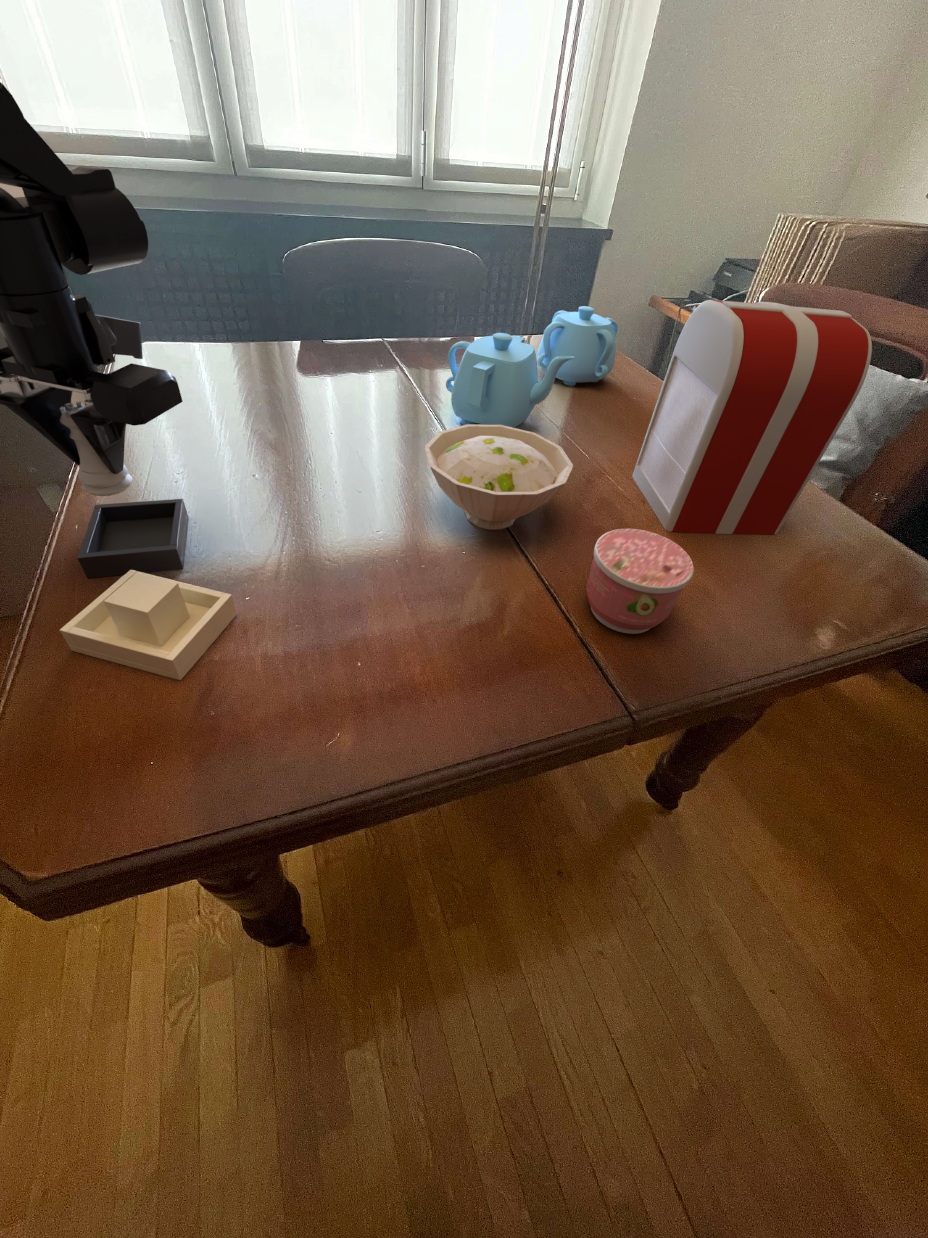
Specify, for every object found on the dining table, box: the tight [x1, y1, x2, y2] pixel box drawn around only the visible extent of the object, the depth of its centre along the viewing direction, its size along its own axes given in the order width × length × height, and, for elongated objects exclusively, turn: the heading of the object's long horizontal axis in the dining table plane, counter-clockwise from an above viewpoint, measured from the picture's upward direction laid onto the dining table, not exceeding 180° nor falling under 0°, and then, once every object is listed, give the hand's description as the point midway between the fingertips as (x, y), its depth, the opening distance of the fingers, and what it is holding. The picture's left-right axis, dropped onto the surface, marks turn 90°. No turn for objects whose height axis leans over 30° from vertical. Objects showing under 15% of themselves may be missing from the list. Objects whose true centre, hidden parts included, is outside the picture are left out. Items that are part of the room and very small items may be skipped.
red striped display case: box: [631, 299, 873, 535], centre depth 75 cm, size 16×18×27 cm
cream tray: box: [59, 570, 238, 681], centre depth 54 cm, size 12×10×3 cm
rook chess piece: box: [60, 401, 133, 497], centre depth 52 cm, size 4×4×8 cm
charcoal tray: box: [77, 498, 190, 579], centre depth 63 cm, size 11×10×3 cm
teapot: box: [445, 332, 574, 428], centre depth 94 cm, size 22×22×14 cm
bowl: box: [424, 424, 574, 531], centre depth 73 cm, size 19×19×10 cm
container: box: [585, 528, 695, 635], centre depth 61 cm, size 10×10×8 cm
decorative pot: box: [536, 305, 619, 386], centre depth 115 cm, size 16×16×14 cm
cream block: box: [104, 573, 190, 647], centre depth 53 cm, size 4×4×4 cm
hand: (101, 468), depth 53 cm, fingers closed on rook chess piece, 3 cm apart
